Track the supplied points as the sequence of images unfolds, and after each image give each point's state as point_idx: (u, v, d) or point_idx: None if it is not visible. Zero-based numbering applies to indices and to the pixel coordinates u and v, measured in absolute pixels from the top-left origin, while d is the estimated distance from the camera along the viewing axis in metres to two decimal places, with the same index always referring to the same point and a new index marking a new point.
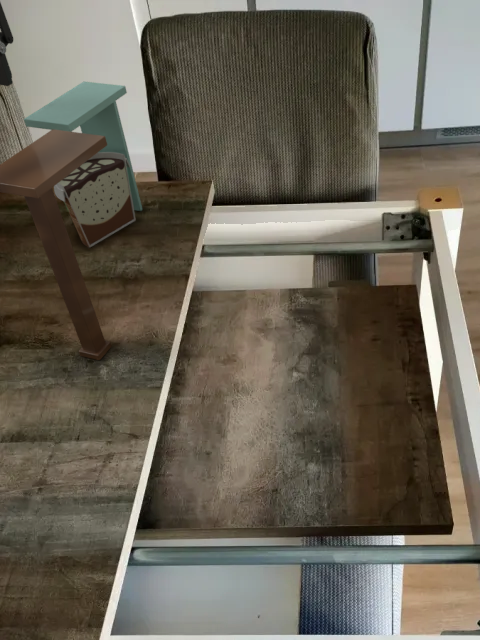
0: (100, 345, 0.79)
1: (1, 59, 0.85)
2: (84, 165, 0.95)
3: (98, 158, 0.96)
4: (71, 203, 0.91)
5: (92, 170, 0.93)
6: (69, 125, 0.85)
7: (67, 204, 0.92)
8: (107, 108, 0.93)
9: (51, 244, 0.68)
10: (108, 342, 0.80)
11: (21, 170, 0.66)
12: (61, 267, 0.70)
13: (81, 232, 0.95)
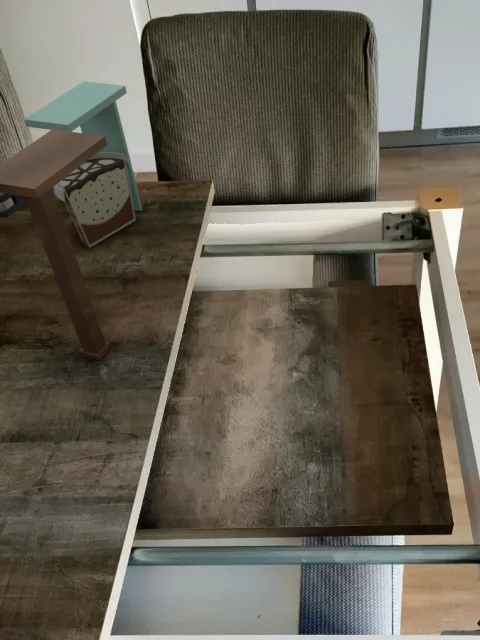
0: (100, 345, 0.79)
1: None
2: (84, 165, 0.95)
3: (98, 158, 0.96)
4: (71, 203, 0.91)
5: (92, 170, 0.93)
6: (69, 125, 0.85)
7: (67, 204, 0.92)
8: (107, 108, 0.93)
9: (51, 244, 0.68)
10: (108, 342, 0.80)
11: (21, 170, 0.66)
12: (61, 267, 0.70)
13: (81, 232, 0.95)
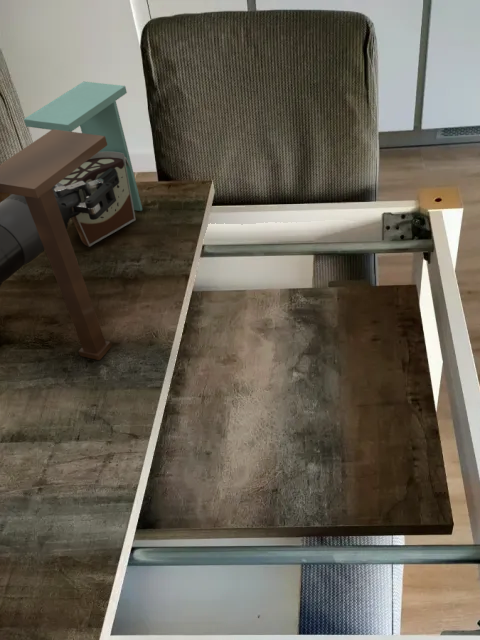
0: (100, 345, 0.79)
1: None
2: (83, 164, 0.95)
3: (98, 158, 0.96)
4: None
5: (92, 169, 0.93)
6: (69, 125, 0.85)
7: None
8: (107, 108, 0.93)
9: (51, 244, 0.68)
10: (108, 342, 0.80)
11: (21, 170, 0.66)
12: (61, 267, 0.70)
13: (80, 231, 0.95)
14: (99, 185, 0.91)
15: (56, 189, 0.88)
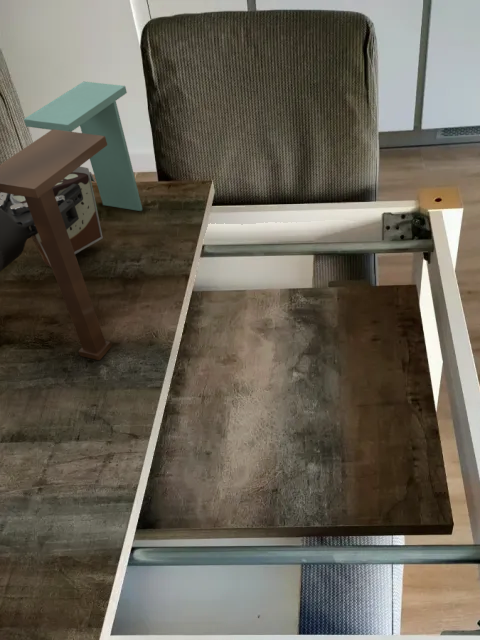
0: (100, 345, 0.79)
1: None
2: None
3: None
4: None
5: None
6: (69, 125, 0.85)
7: None
8: (107, 108, 0.93)
9: (51, 244, 0.68)
10: (108, 342, 0.80)
11: (21, 170, 0.66)
12: (61, 267, 0.70)
13: (41, 251, 0.89)
14: (60, 202, 0.85)
15: (12, 207, 0.82)
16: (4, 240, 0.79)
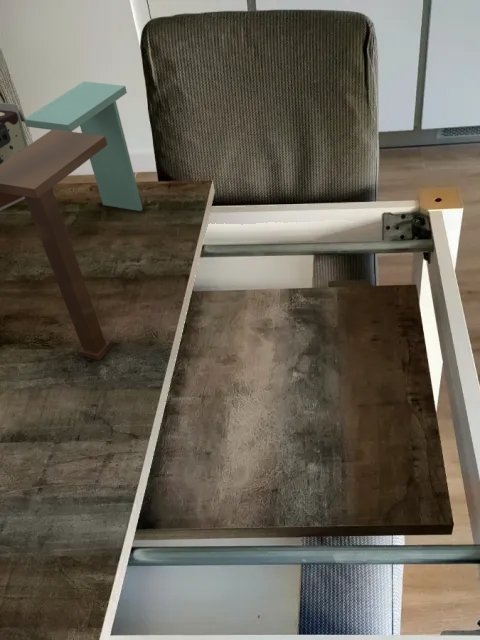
0: (100, 345, 0.79)
1: None
2: None
3: None
4: None
5: None
6: (69, 125, 0.85)
7: None
8: (107, 108, 0.93)
9: (51, 244, 0.68)
10: (108, 342, 0.80)
11: (21, 170, 0.66)
12: (61, 267, 0.70)
13: None
14: None
15: None
16: None
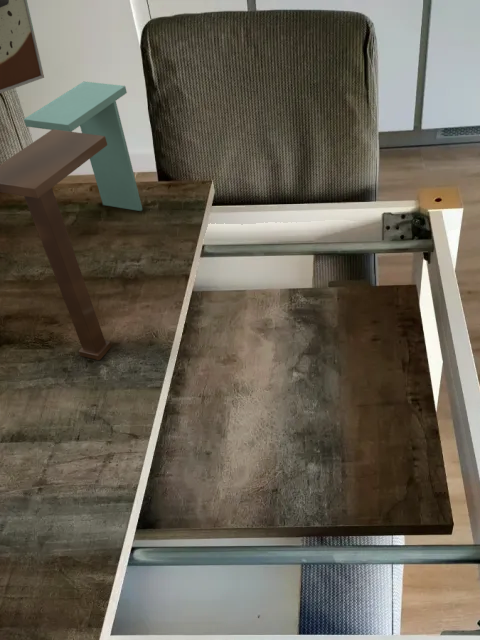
0: (100, 345, 0.79)
1: None
2: None
3: None
4: None
5: None
6: (69, 125, 0.85)
7: None
8: (107, 108, 0.93)
9: (51, 244, 0.68)
10: (108, 342, 0.80)
11: (21, 170, 0.66)
12: (61, 267, 0.70)
13: None
14: None
15: None
16: None
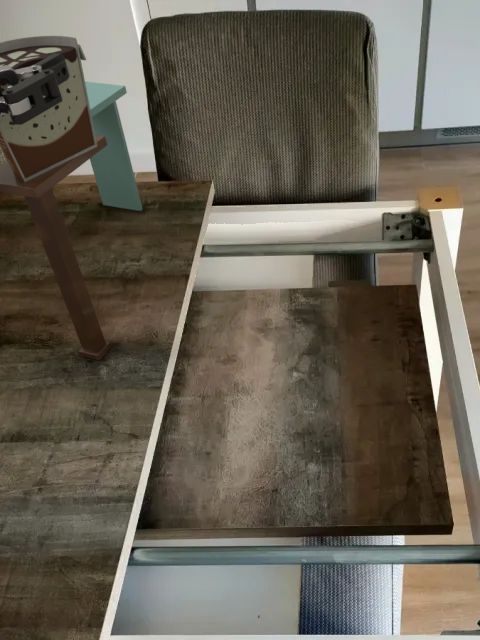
0: (100, 345, 0.79)
1: None
2: (14, 54, 0.62)
3: (37, 46, 0.63)
4: None
5: (25, 59, 0.60)
6: None
7: None
8: (107, 108, 0.93)
9: (51, 244, 0.68)
10: (108, 342, 0.80)
11: None
12: (61, 267, 0.70)
13: (10, 157, 0.62)
14: (34, 75, 0.58)
15: None
16: None
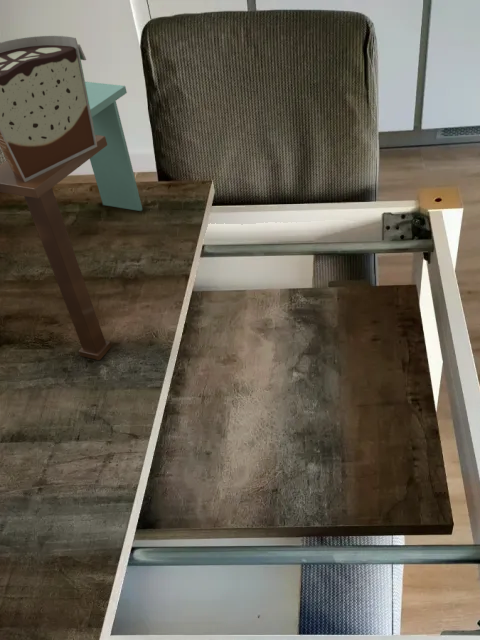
0: (100, 345, 0.79)
1: None
2: (14, 54, 0.62)
3: (37, 46, 0.63)
4: None
5: (25, 59, 0.60)
6: None
7: None
8: (107, 108, 0.93)
9: (51, 244, 0.68)
10: (108, 342, 0.80)
11: None
12: (61, 267, 0.70)
13: (10, 157, 0.62)
14: None
15: None
16: None
